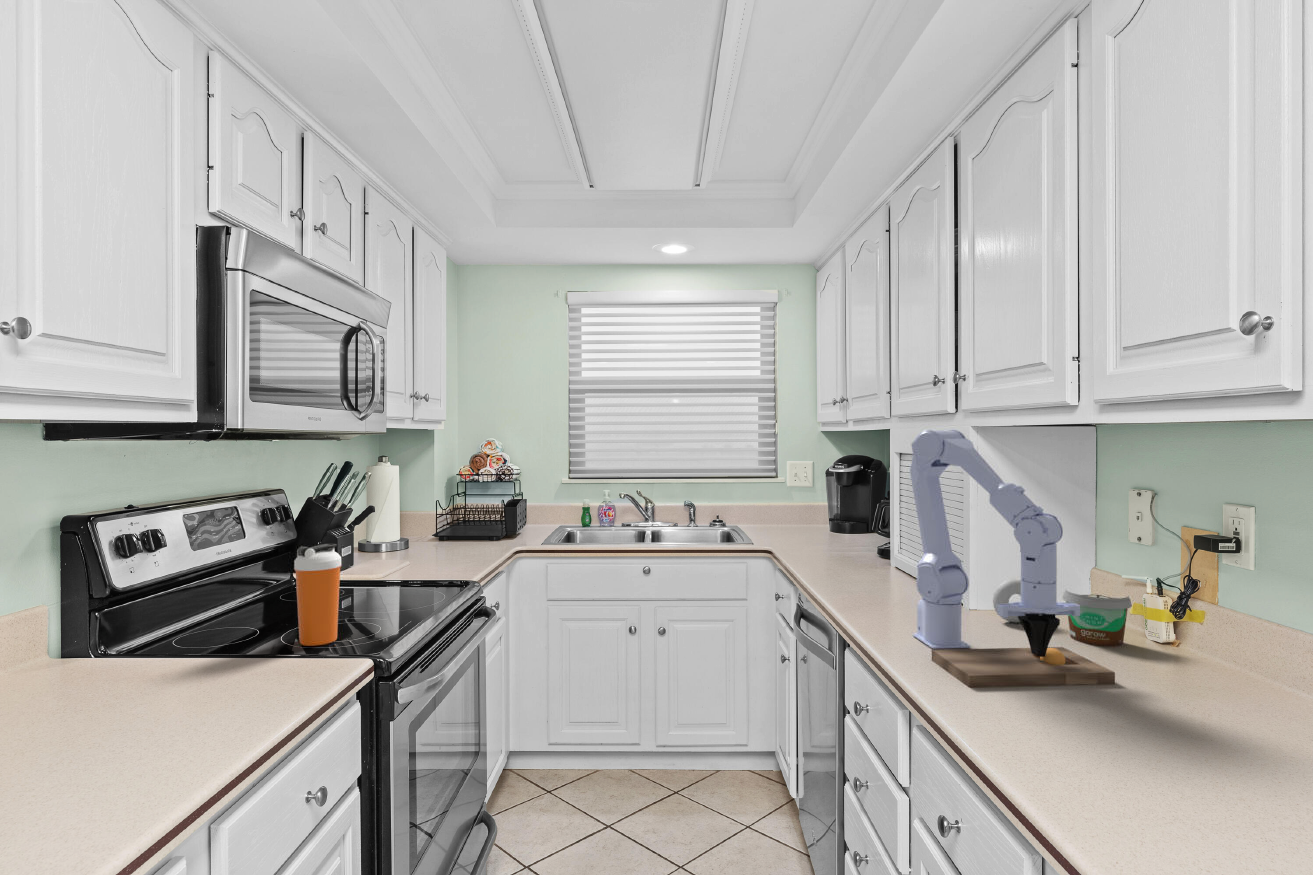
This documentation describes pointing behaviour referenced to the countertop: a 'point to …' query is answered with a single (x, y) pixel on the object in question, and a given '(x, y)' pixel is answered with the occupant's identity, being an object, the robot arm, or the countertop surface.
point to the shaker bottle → (317, 593)
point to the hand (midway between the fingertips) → (1038, 654)
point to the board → (1018, 668)
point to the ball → (1053, 657)
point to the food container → (1098, 619)
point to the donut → (1007, 596)
